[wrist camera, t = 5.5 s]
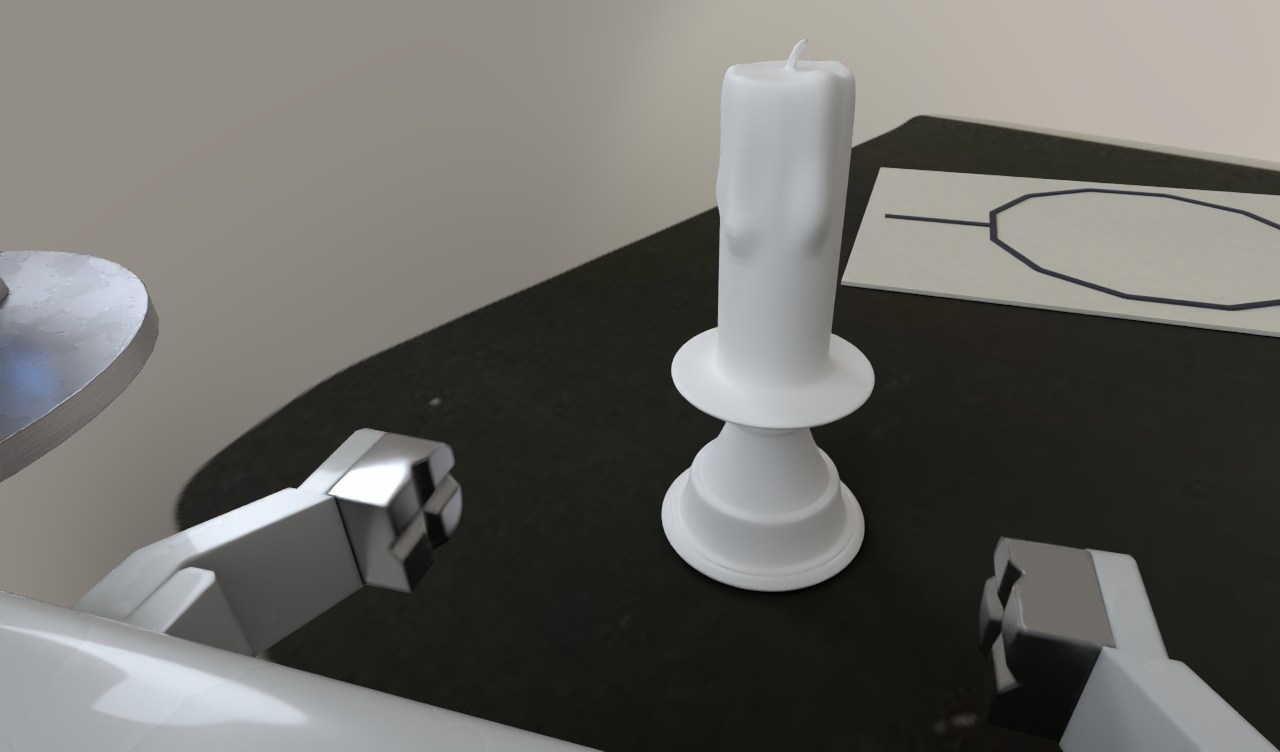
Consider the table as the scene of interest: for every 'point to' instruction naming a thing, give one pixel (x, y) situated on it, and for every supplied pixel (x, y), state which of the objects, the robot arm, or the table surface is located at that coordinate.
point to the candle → (774, 339)
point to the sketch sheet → (1075, 247)
